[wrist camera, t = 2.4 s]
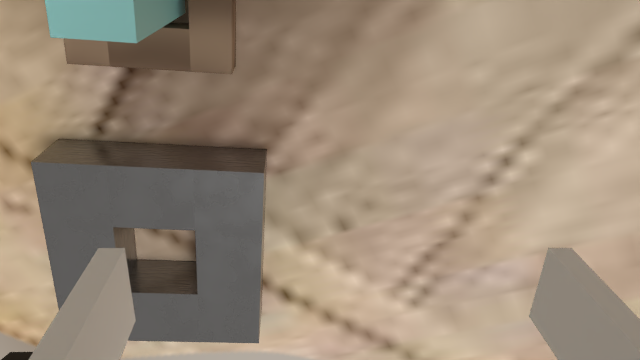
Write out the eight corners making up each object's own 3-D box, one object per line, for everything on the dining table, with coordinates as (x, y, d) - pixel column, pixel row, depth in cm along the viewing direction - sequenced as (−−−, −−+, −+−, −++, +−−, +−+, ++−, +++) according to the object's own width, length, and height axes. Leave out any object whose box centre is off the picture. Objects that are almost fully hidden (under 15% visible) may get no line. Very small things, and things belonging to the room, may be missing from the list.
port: (58, 138, 38) (31, 162, 34) (266, 149, 39) (263, 173, 35) (85, 303, 45) (64, 339, 41) (261, 308, 46) (258, 343, 42)
